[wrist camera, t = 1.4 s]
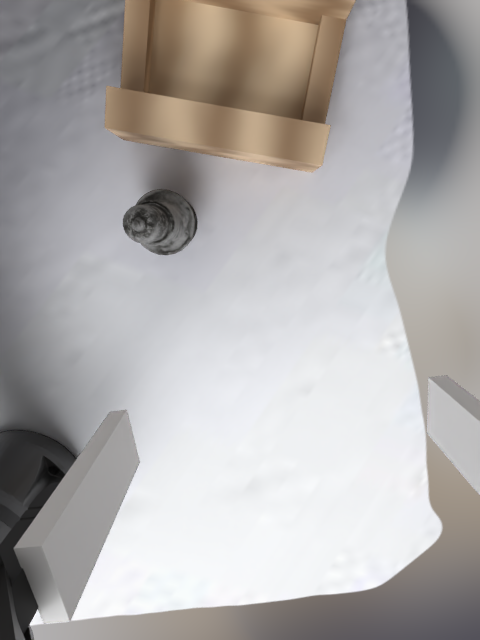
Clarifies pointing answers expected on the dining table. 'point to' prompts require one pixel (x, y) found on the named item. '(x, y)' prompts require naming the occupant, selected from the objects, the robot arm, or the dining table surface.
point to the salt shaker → (161, 222)
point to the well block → (230, 77)
